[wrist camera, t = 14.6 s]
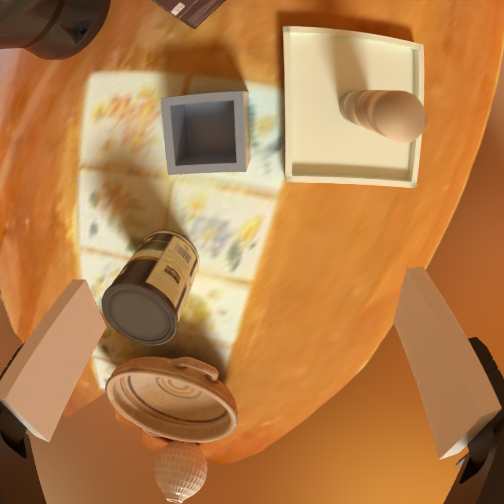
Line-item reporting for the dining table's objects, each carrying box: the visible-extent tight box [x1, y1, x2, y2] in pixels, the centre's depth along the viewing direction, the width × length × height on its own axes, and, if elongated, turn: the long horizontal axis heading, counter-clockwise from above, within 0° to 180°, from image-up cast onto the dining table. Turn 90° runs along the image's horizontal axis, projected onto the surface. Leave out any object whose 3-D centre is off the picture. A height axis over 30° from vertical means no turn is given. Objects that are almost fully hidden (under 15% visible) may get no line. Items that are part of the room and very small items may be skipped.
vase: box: [154, 440, 207, 503], centre depth 72 cm, size 16×16×22 cm
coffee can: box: [102, 231, 199, 345], centre depth 41 cm, size 10×10×14 cm
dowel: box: [339, 90, 426, 143], centre depth 27 cm, size 4×4×15 cm
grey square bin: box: [161, 91, 251, 175], centre depth 34 cm, size 9×9×7 cm
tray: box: [283, 26, 424, 188], centre depth 33 cm, size 20×18×3 cm
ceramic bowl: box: [105, 356, 238, 442], centre depth 58 cm, size 37×29×10 cm
